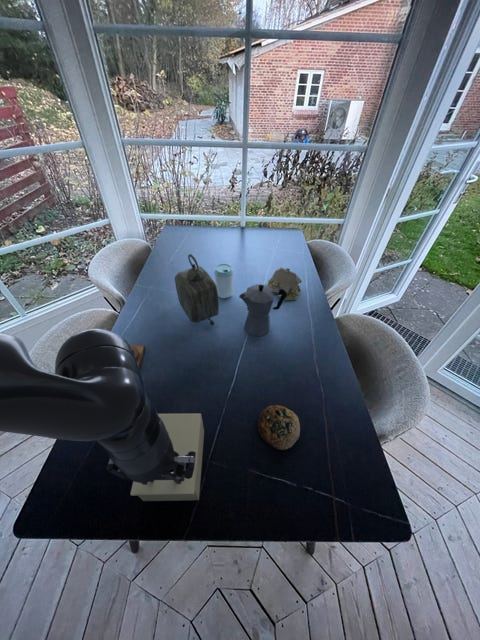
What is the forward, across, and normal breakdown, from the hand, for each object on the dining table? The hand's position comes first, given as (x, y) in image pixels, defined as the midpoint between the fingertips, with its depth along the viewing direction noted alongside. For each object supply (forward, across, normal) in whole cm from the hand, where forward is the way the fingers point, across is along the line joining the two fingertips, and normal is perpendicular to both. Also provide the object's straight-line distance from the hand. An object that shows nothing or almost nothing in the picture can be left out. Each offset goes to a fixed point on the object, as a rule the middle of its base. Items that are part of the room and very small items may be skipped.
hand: (163, 478), depth 49 cm
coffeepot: (+11, +22, +49) cm, 55 cm away
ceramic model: (+11, +34, +70) cm, 78 cm away
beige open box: (+11, 0, +6) cm, 12 cm away
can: (+11, +9, +67) cm, 68 cm away
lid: (+2, 0, +5) cm, 6 cm away
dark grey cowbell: (+11, +1, +53) cm, 54 cm away
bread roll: (+11, +25, +14) cm, 30 cm away
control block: (+11, -18, +34) cm, 41 cm away
